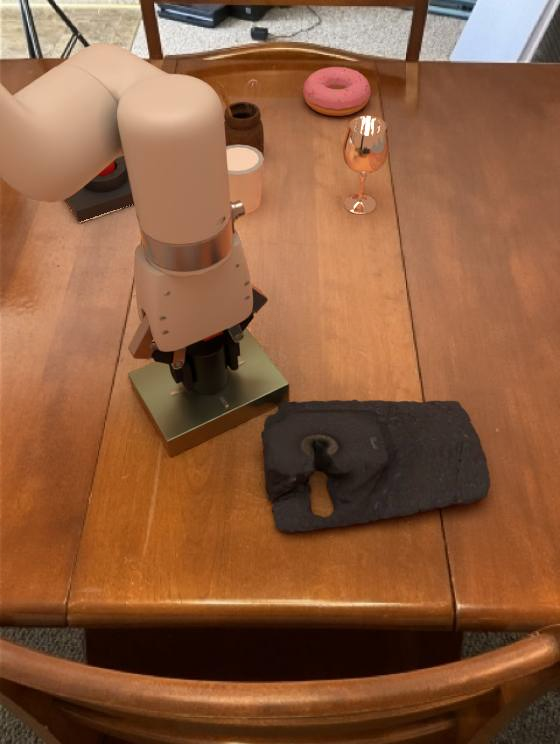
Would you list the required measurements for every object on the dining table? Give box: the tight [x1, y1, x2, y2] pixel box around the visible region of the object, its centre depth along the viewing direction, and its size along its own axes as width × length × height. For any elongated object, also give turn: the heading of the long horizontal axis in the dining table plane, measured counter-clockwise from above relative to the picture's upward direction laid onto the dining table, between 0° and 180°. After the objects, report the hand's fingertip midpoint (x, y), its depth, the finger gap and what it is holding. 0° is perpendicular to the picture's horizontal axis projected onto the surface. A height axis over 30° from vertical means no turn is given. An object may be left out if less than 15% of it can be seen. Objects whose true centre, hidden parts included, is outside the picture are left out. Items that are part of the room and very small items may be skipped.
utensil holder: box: [216, 78, 265, 156], centre depth 98 cm, size 6×6×12 cm
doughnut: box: [301, 66, 372, 117], centre depth 110 cm, size 11×11×4 cm
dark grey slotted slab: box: [260, 399, 491, 534], centre depth 66 cm, size 15×22×5 cm
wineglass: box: [342, 115, 389, 215], centre depth 90 cm, size 6×6×12 cm
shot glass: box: [226, 145, 265, 215], centre depth 92 cm, size 7×7×7 cm
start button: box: [97, 161, 115, 176], centre depth 93 cm, size 4×4×2 cm
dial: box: [185, 331, 229, 395], centre depth 69 cm, size 4×4×6 cm
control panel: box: [127, 327, 290, 458], centre depth 72 cm, size 14×10×3 cm
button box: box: [64, 155, 134, 223], centre depth 95 cm, size 12×10×4 cm
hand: (206, 370), depth 70 cm, fingers closed on dial, 4 cm apart
